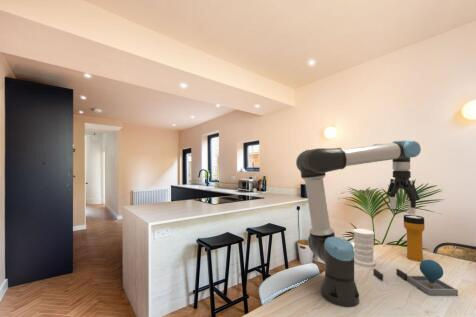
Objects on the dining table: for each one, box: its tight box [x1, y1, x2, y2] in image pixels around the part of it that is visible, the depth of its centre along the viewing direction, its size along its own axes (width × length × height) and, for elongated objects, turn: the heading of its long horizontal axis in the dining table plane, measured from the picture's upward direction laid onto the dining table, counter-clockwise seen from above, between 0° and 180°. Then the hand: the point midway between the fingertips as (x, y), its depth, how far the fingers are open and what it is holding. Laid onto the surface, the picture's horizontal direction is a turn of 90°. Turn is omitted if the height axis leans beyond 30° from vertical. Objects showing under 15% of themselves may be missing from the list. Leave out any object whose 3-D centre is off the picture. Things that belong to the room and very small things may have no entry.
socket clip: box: [373, 268, 408, 282], centre depth 113 cm, size 13×6×3 cm, turn 90°
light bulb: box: [419, 259, 444, 287], centre depth 103 cm, size 8×8×12 cm
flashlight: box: [403, 214, 425, 262], centre depth 136 cm, size 10×26×10 cm
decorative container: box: [352, 228, 376, 268], centre depth 131 cm, size 12×12×18 cm
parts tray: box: [407, 275, 459, 297], centre depth 103 cm, size 13×13×2 cm
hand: (401, 211), depth 115 cm, fingers open, 13 cm apart
